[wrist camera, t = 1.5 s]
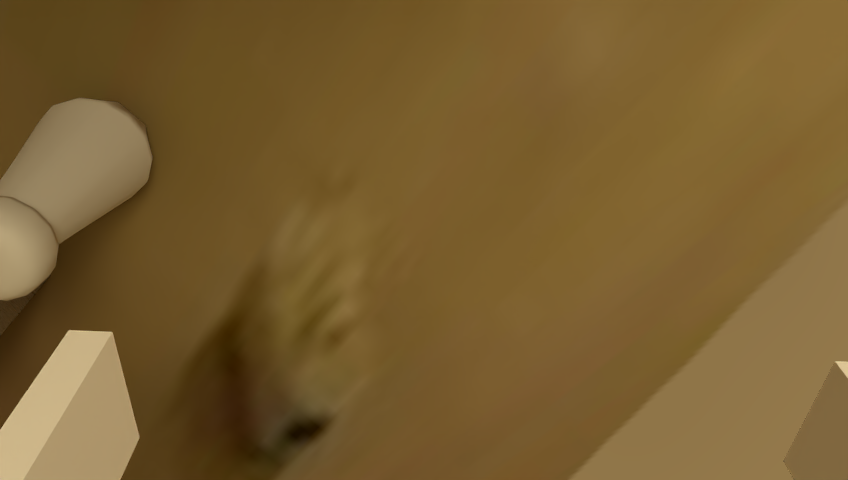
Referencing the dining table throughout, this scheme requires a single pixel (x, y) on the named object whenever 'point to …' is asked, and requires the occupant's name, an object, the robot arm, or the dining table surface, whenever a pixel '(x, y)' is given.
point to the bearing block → (14, 307)
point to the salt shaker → (66, 185)
